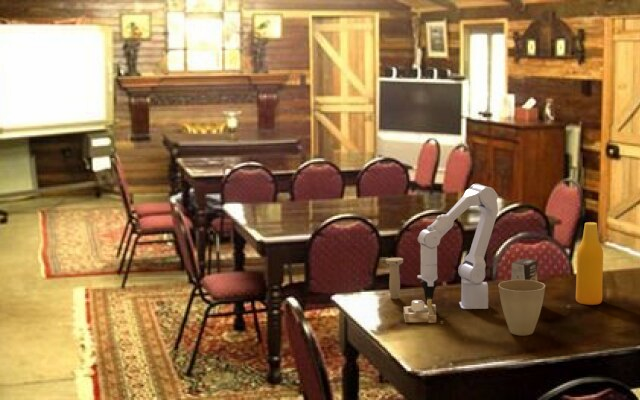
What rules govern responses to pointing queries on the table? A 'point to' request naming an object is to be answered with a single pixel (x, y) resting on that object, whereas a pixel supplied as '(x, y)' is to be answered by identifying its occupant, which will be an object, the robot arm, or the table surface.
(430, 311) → the pin
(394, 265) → the handle
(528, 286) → the plant pot
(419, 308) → the silver metal cylinder
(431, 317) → the dock
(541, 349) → the table surface
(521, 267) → the coffee box
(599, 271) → the beer bottle
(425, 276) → the robot arm
